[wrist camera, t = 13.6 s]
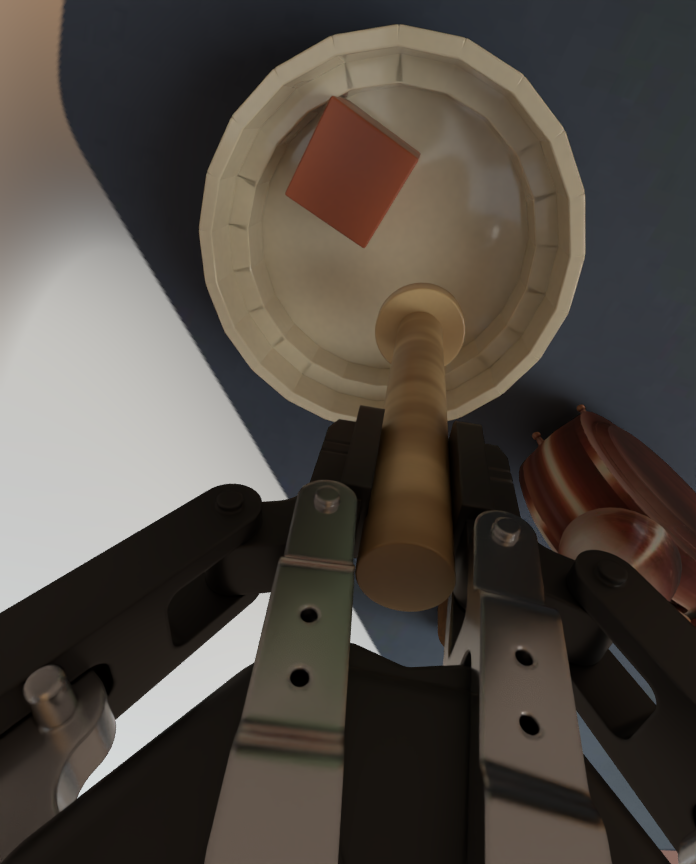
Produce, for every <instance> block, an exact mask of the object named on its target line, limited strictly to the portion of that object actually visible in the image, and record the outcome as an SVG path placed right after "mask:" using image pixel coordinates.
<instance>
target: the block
mask: <svg viewBox="0 0 696 864" xmlns="http://www.w3.org/2000/svg"><path fill="white" fill-rule="evenodd" d="M420 155H421V154H420V152H418V151H417V150H416V149H414V148H413V147H412V146H410V145H409V144H408V143H406V142H405V141H404V140H402V139H401V138H400V137H398V136H397V135H396V134H394V133H393V132H391V131H390V130H389V129H387V128H386V127H385V126H383V125H382V124H381V123H379V122H378V121H377V120H375V119H374V118H373V117H371V116H370V115H369V114H367V113H366V112H365V111H363V110H362V109H361V108H359V107H358V106H356V105H355V104H354V103H352V102H351V101H350V100H347V99H344V98H340V97H336V96H331V97H330V99H329V101H328V103H327V105H326V108H325V110H324V112H323V114H322V116H321V118H320V120H319V122H318V124H317V126H316V129H315V131H314V133H313V135H312V137H311V139H310V141H309V143H308V145H307V148H306V150H305V152H304V154H303V156H302V158H301V160H300V162H299V164H298V167H297V169H296V171H295V173H294V175H293V177H292V179H291V181H290V183H289V185H288V188H287V190H286V192H285V195H286V196H287V197H289V198H290V199H292V200H293V201H295V202H296V203H297V204H299V205H300V206H302V207H303V208H305V209H306V210H308V211H309V212H311V213H312V214H314V215H315V216H316V217H318V218H319V219H321V220H322V221H324V222H325V223H327V224H328V225H330V226H331V227H333V228H334V229H335V230H337V231H338V232H340V233H341V234H343V235H344V236H346V237H347V238H349V239H350V240H352V241H353V242H355V243H356V244H357V245H359V246H360V247H362V248H365V247H366V246H367V244H368V243H369V241H370V239H371V238H372V236H373V235H374V233H375V231H376V230H377V228H378V226H379V225H380V223H381V221H382V220H383V218H384V216H385V215H386V213H387V212H388V210H389V208H390V207H391V205H392V203H393V202H394V200H395V198H396V197H397V195H398V193H399V192H400V190H401V188H402V187H403V185H404V184H405V182H406V180H407V179H408V177H409V175H410V174H411V172H412V170H413V169H414V167H415V165H416V164H417V162H418V160H419V158H420Z"/></svg>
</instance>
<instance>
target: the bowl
mask: <svg viewBox="0 0 696 864" xmlns="http://www.w3.org/2000/svg"><path fill="white" fill-rule="evenodd" d="M523 76H524V75H523V74H522V73H520V72H519V71H517V70H516V69H514V68H513V67H511V66H510V65H508V64H506V63H505V62H503V61H502V60H500V59H499V58H497V57H496V56H494V55H493V54H491V53H489V52H488V51H486V50H485V49H483V48H482V47H480V46H479V45H477V44H476V43H474V42H472V41H471V40H469V39H468V38H465V37H461V36H456V35H451V34H446V33H442V32H437V31H432V30H427V29H422V28H417V27H413V26H408V25H403V24H400V25H398V24H394V25H388V26H382V27H376V28H370V29H364V30H358V31H352V32H346V33H340V34H334V35H332V36H329V37H327V38H325V39H324V40H322V41H320V42H318V43H317V44H315V45H313V46H311V47H310V48H308V49H306V50H304V51H303V52H301V53H299V54H297V55H296V56H294V57H292V58H290V59H289V60H287V61H285V62H283V63H282V64H280V65H278V66H276V67H275V69H272V71H271V72H270V73H269V74H268V75H267V76H266V77H265V79H264V80H263V81H262V82H261V83H260V84H259V85H258V86H257V88H256V89H255V90H254V91H253V92H252V93H251V94H250V96H249V97H248V98H247V99H246V100H245V101H244V102H243V104H242V105H241V106H240V107H239V108H238V109H237V110H236V112H235V113H234V114H233V115H232V117H231V118H230V121H229V123H228V125H227V127H226V130H225V132H224V134H223V136H222V139H221V141H220V143H219V145H218V148H217V150H216V152H215V154H214V157H213V159H212V161H211V163H210V166H209V168H208V170H207V174H206V180H205V187H204V194H203V202H202V209H201V216H200V223H199V237H200V245H201V253H202V260H203V268H204V276H205V283H206V286H207V289H208V291H209V294H210V296H211V299H212V301H213V304H214V306H215V309H216V311H217V314H218V317H219V319H220V322H221V324H222V327H223V329H224V330H225V333H226V334H227V336H228V337H229V339H230V340H231V341H232V343H233V344H234V345H235V347H236V348H237V350H238V351H239V352H240V354H241V355H242V357H243V358H244V359H245V361H246V362H247V364H248V365H249V366H250V368H251V369H252V370H253V371H254V372H255V373H256V374H257V375H259V376H260V377H261V378H262V379H263V380H264V381H266V382H267V383H268V384H269V385H270V386H271V387H273V388H274V389H275V390H276V391H277V392H278V393H280V394H281V395H282V396H283V397H284V398H285V399H288V401H290V402H292V403H294V404H296V405H298V406H300V407H302V408H304V409H306V410H308V411H310V412H312V413H314V414H316V415H318V416H320V417H322V418H324V419H326V420H327V419H328V420H329V421H333V422H336V421H337V420H338V419H343V420H349V421H355V422H356V419H357V415H358V411H359V407H360V405H364V406H370V407H376V408H382V409H383V408H384V403H385V397H386V391H387V385H388V380H389V374H390V368H391V364H390V363H389V362H388V361H387V360H386V359H385V358H384V357H383V356H382V354H381V353H380V351H379V349H378V346H377V344H376V339H375V325H376V320H377V317H378V313H379V310H380V308H381V306H382V305H383V303H384V301H385V300H386V299H387V298H388V297H389V296H390V295H391V294H392V293H393V292H394V291H396V290H397V289H399V288H401V287H403V286H406V285H409V284H413V283H430V284H435V285H438V286H440V287H442V288H444V289H446V290H447V291H449V292H450V293H451V294H452V295H453V296H454V297H455V298H456V300H457V301H458V303H459V304H460V306H461V308H462V311H463V315H464V320H465V327H466V332H465V339H464V342H463V345H462V348H461V350H460V351H459V353H458V354H457V356H456V357H455V358H454V359H453V360H452V361H451V362H450V363H449V364H447V365H446V366H445V367H444V370H445V388H446V406H447V421H450V420H454V419H458V418H459V417H462V416H464V415H466V414H468V413H470V412H472V411H473V410H475V409H477V408H479V407H481V406H482V405H484V404H486V403H488V402H490V401H492V400H493V399H495V398H497V397H499V396H501V395H502V394H503V393H504V392H506V391H507V390H508V389H509V388H510V387H511V386H512V385H513V384H514V383H515V382H516V381H517V380H518V379H519V378H520V377H521V376H523V375H524V374H525V373H526V372H527V371H528V370H529V369H530V368H531V367H532V366H533V365H534V364H535V363H536V362H537V361H538V360H539V359H540V358H541V357H542V355H543V353H544V352H545V350H546V349H547V347H548V345H549V344H550V342H551V340H552V339H553V337H554V336H555V334H556V332H557V331H558V329H559V328H560V326H561V324H562V323H563V321H564V319H565V318H566V316H567V315H568V312H569V310H570V307H571V303H572V300H573V296H574V293H575V290H576V286H577V283H578V279H579V276H580V272H581V269H582V266H583V262H584V259H585V256H584V255H585V193H584V192H585V190H584V187H583V184H582V181H581V178H580V175H579V172H578V169H577V165H576V162H575V159H574V156H573V153H572V150H571V147H570V144H569V141H568V137H567V134H566V132H565V131H564V128H563V126H562V125H561V124H560V122H559V121H558V120H557V118H556V117H555V116H554V114H553V113H552V112H551V110H550V109H549V108H548V106H547V105H546V104H545V102H544V101H543V100H542V98H541V97H540V96H539V94H538V93H537V92H536V90H535V89H534V87H533V86H532V85H531V83H530V82H529V81H528V79H527V78H526V77H525V76H524V77H523ZM331 96H336V97H340V98H344V99H347V100H350V101H351V102H352V103H354V104H355V105H356V106H358V107H359V108H361V109H362V110H363V111H365V112H366V113H367V114H369V115H370V116H371V117H373V118H374V119H375V120H377V121H378V122H379V123H381V124H382V125H383V126H385V127H386V128H387V129H389V130H390V131H391V132H393V133H394V134H396V135H397V136H398V137H400V138H401V139H402V140H404V141H405V142H406V143H408V144H409V145H410V146H412V147H413V148H414V149H416V150H417V151H418V152H420V154H421V155H420V158H419V160H418V162H417V164H416V165H415V167H414V169H413V170H412V172H411V174H410V175H409V177H408V179H407V180H406V182H405V184H404V185H403V187H402V188H401V190H400V192H399V193H398V195H397V197H396V198H395V200H394V202H393V203H392V205H391V207H390V208H389V210H388V212H387V213H386V215H385V216H384V218H383V220H382V221H381V223H380V225H379V226H378V228H377V230H376V231H375V233H374V235H373V236H372V238H371V239H370V241H369V243H368V244H367V246H366V247H365V248H362V247H360V246H359V245H357V244H356V243H355V242H353V241H352V240H350V239H349V238H347V237H346V236H344V235H343V234H341V233H340V232H338V231H337V230H335V229H334V228H333V227H331V226H330V225H328V224H327V223H325V222H324V221H322V220H321V219H319V218H318V217H316V216H315V215H314V214H312V213H311V212H309V211H308V210H306V209H305V208H303V207H302V206H300V205H299V204H297V203H296V202H295V201H293V200H292V199H290V198H289V197H287V196H286V195H285V192H286V190H287V188H288V185H289V183H290V181H291V179H292V177H293V175H294V173H295V171H296V169H297V167H298V164H299V162H300V160H301V158H302V156H303V154H304V152H305V150H306V148H307V145H308V143H309V141H310V139H311V137H312V135H313V133H314V131H315V129H316V126H317V124H318V122H319V120H320V118H321V116H322V114H323V112H324V110H325V108H326V105H327V103H328V101H329V99H330V97H331Z"/></svg>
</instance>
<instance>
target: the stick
mask: <svg viewBox="0 0 696 864" xmlns="http://www.w3.org/2000/svg"><path fill="white" fill-rule="evenodd" d="M465 332H466V327H465V320H464V315H463V311H462V308H461V306H460V304H459V303H458V301H457V300H456V298H455V297H454V296H453V295H452V294H451V293H450V292H449V291H447V290H446V289H444V288H442V287H440V286H438V285H435V284H430V283H413V284H409V285H406V286H403V287H401V288H399V289H397V290H396V291H394V292H393V293H392V294H391V295H390V296H389V297H388V298H387V299H386V300H385V301H384V303H383V305H382V306H381V308H380V310H379V313H378V317H377V320H376V325H375V339H376V344H377V346H378V349H379V351H380V353H381V354H382V356H383V357H384V358H385V359H386V360H387V361H388V362H389V363H390V364H391V368H390V374H389V380H388V385H387V391H386V397H385V403H384V408H383V409H385V413H384V419H383V425H382V431H381V437H380V443H379V449H378V455H377V461H376V467H375V473H374V479H373V485H372V491H371V497H370V503H369V509H368V514H367V516H366V518H365V520H364V524H363V529H362V534H361V540H360V546H359V552H358V557H357V563H356V569H355V574H356V579H357V582H358V585H359V587H360V588H361V590H362V591H363V592H364V593H365V594H366V595H367V596H368V597H369V598H370V599H371V600H373V601H374V602H376V603H378V604H380V605H382V606H384V607H387V608H390V609H394V610H399V611H410V612H411V611H422V610H427V609H430V608H433V607H435V606H438V605H439V604H441V603H443V602H444V601H445V600H446V599H447V598H448V597H449V596H450V595H451V593H452V592H453V590H454V587H455V583H456V569H455V551H454V533H453V515H452V497H451V479H450V461H449V443H448V424H447V406H446V388H445V370H444V367H445V366H446V365H447V364H449V363H450V362H451V361H452V360H453V359H454V358H455V357H456V356H457V354H458V353H459V351H460V350H461V348H462V345H463V342H464V339H465Z"/></svg>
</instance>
